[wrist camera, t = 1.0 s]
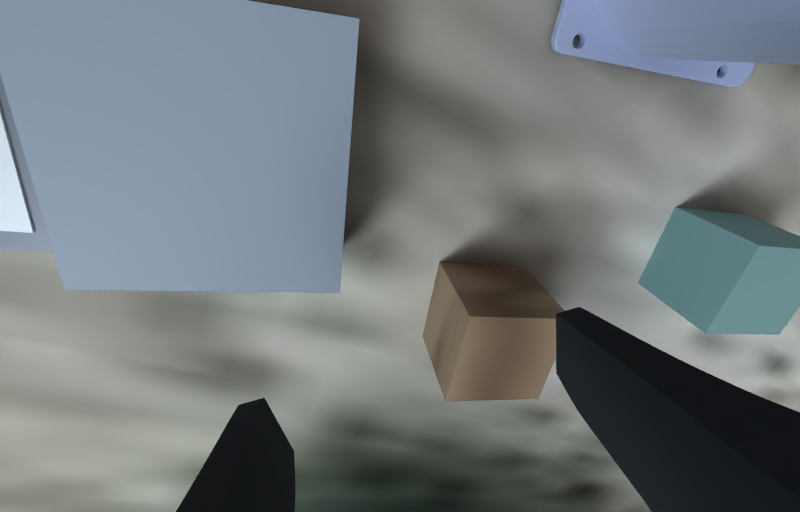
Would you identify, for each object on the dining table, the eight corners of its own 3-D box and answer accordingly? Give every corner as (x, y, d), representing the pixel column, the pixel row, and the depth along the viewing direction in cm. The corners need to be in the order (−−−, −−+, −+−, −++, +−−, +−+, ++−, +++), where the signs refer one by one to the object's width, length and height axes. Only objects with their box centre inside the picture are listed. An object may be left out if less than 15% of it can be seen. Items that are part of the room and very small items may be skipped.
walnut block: (523, 265, 21) (571, 319, 17) (499, 336, 23) (537, 398, 19) (439, 261, 20) (469, 316, 16) (422, 335, 22) (445, 401, 18)
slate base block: (349, 24, 14) (359, 18, 11) (336, 245, 18) (339, 293, 15) (63, -21, 12) (-36, -46, 9) (118, 237, 17) (64, 289, 13)
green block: (742, 213, 22) (839, 251, 18) (701, 285, 24) (779, 334, 20) (674, 206, 21) (760, 245, 17) (636, 282, 23) (705, 333, 19)
